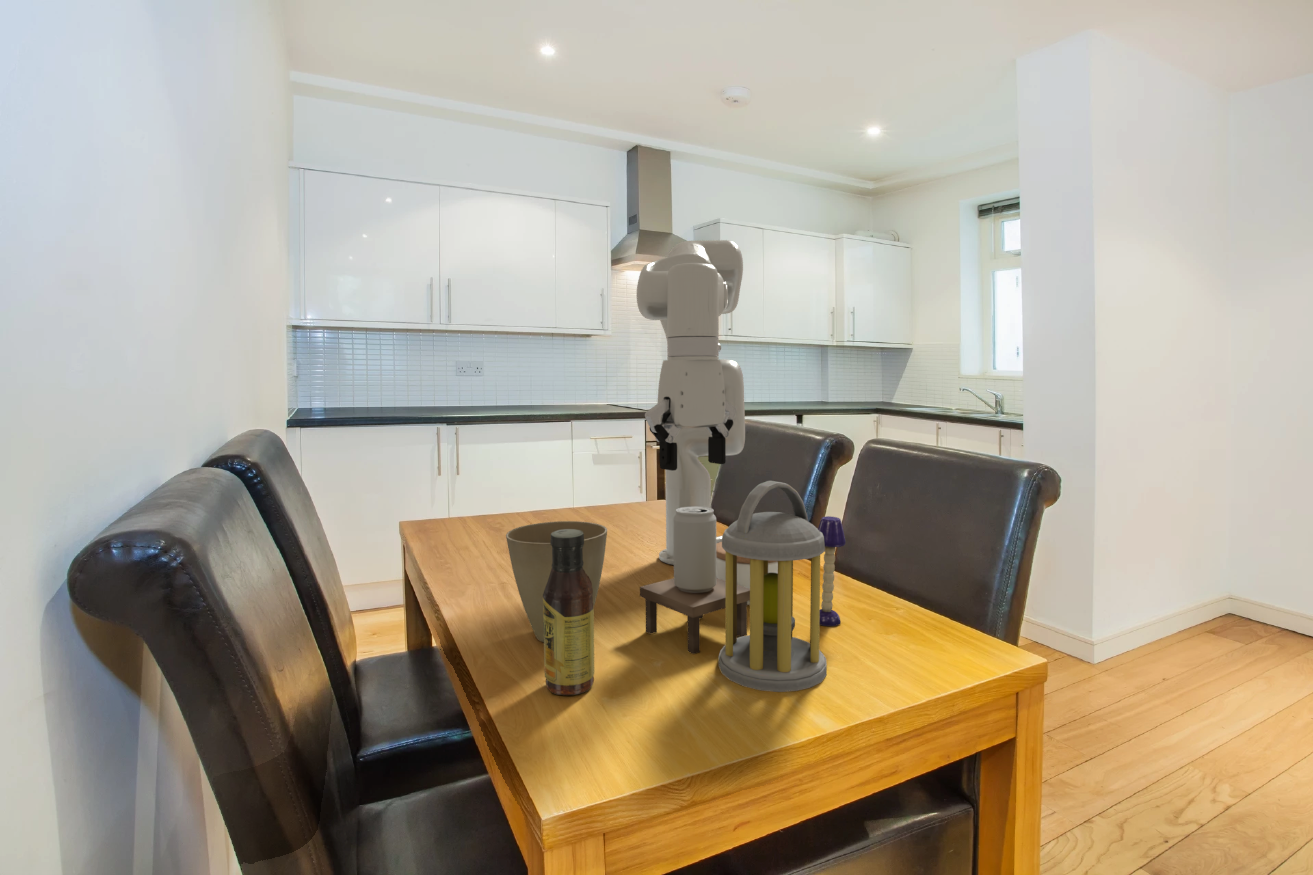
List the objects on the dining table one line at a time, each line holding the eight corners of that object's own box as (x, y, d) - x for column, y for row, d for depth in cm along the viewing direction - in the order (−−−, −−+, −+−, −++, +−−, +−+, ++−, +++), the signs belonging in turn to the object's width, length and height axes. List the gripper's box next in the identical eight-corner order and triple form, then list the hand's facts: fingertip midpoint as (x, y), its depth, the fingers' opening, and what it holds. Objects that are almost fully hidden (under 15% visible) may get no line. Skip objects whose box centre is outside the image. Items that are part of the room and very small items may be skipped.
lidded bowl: (793, 592, 120) (794, 531, 119) (775, 615, 109) (775, 548, 108) (726, 583, 126) (726, 525, 125) (702, 604, 114) (702, 541, 113)
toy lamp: (845, 618, 107) (846, 515, 105) (843, 629, 102) (844, 521, 101) (814, 615, 108) (815, 513, 107) (811, 625, 104) (812, 519, 103)
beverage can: (714, 595, 97) (714, 513, 96) (670, 593, 98) (670, 512, 97) (718, 582, 103) (718, 505, 102) (677, 580, 105) (676, 504, 103)
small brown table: (698, 613, 110) (698, 571, 109) (752, 635, 100) (752, 589, 100) (640, 631, 102) (639, 586, 102) (693, 656, 93) (692, 607, 92)
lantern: (775, 638, 99) (776, 470, 97) (850, 673, 87) (853, 483, 85) (697, 660, 92) (696, 479, 89) (768, 702, 80) (769, 494, 77)
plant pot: (604, 614, 110) (602, 518, 109) (614, 650, 95) (612, 540, 94) (511, 620, 107) (508, 522, 106) (506, 658, 93) (503, 545, 91)
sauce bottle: (546, 676, 87) (543, 526, 85) (595, 674, 88) (592, 524, 86) (542, 701, 80) (538, 538, 79) (594, 698, 81) (592, 536, 79)
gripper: (717, 352, 107) (717, 458, 108) (630, 350, 96) (631, 469, 98) (752, 350, 101) (751, 463, 103) (663, 349, 90) (664, 475, 92)
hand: (693, 466), depth 100 cm, fingers open, 9 cm apart
